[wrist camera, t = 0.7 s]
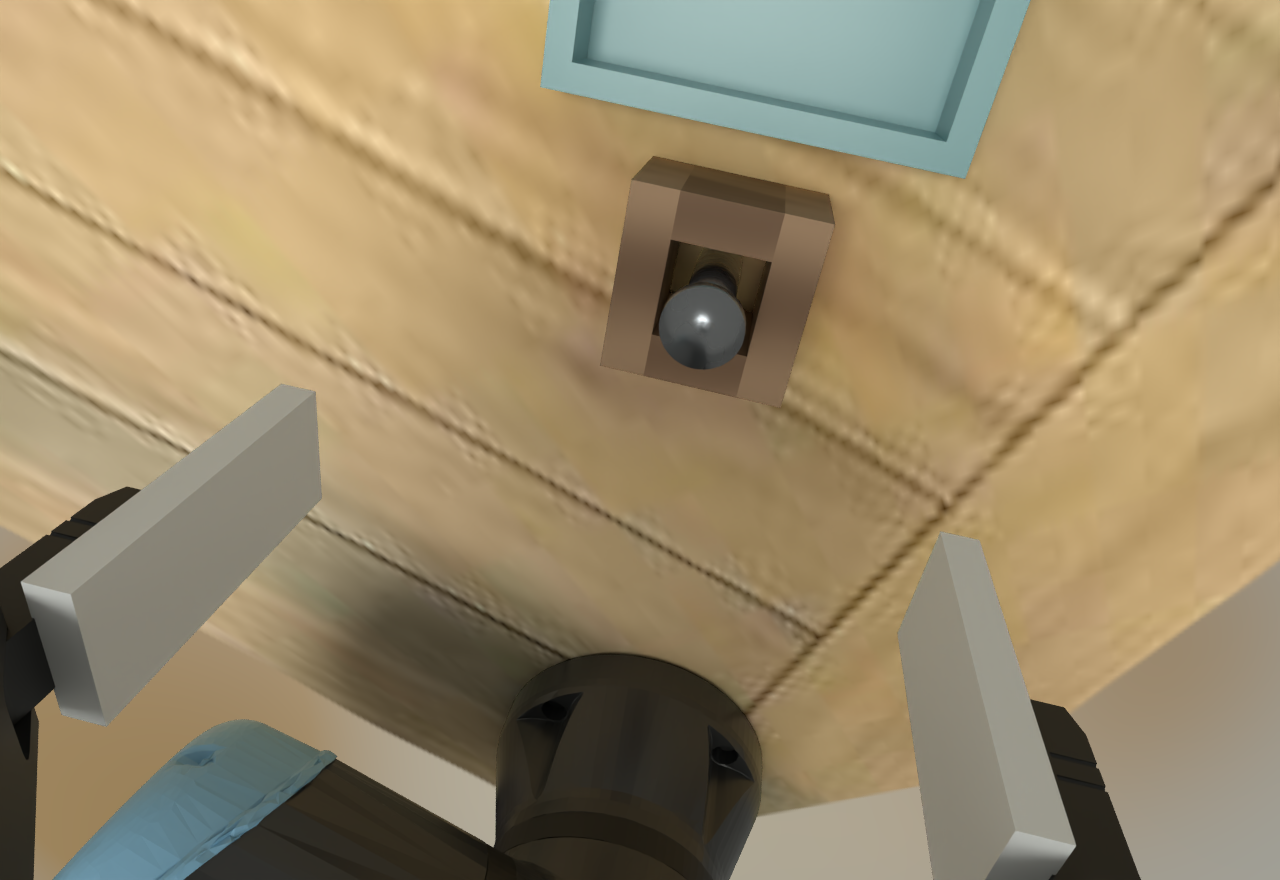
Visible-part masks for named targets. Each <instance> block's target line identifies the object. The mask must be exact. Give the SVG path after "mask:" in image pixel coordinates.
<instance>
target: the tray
mask: <svg viewBox="0 0 1280 880" xmlns="http://www.w3.org/2000/svg"><path fill="white" fill-rule="evenodd" d="M1029 3H1030V0H550V4H549V13H548V22H547V32H546V41H545V50H544V59H543V68H542V77H541V86H540V87H542V88H547V89H552V90H556V91H561V92H566V93H570V94H575V95H579V96H584V97H589V98H593V99H598V100H603V101H607V102H612V103H617V104H621V105H626V106H630V107H635V108H640V109H644V110H649V111H654V112H658V113H663V114H668V115H672V116H677V117H681V118H686V119H691V120H695V121H700V122H705V123H709V124H714V125H719V126H723V127H728V128H732V129H737V130H742V131H746V132H751V133H756V134H760V135H765V136H770V137H774V138H779V139H783V140H788V141H793V142H797V143H802V144H807V145H811V146H816V147H821V148H825V149H830V150H834V151H839V152H844V153H848V154H853V155H858V156H862V157H867V158H872V159H876V160H881V161H885V162H890V163H895V164H899V165H904V166H909V167H913V168H918V169H923V170H927V171H932V172H936V173H941V174H946V175H950V176H955V177H960V178H964V179H965V177H966V175H967V172H968V169H969V167H970V164H971V161H972V158H973V156H974V153H975V150H976V147H977V145H978V142H979V139H980V137H981V134H982V131H983V128H984V126H985V123H986V120H987V118H988V115H989V112H990V109H991V107H992V104H993V101H994V98H995V96H996V93H997V90H998V88H999V85H1000V82H1001V79H1002V77H1003V74H1004V71H1005V68H1006V66H1007V63H1008V60H1009V58H1010V55H1011V52H1012V49H1013V47H1014V44H1015V41H1016V38H1017V36H1018V33H1019V30H1020V28H1021V25H1022V22H1023V19H1024V17H1025V14H1026V11H1027V9H1028V6H1029Z"/></svg>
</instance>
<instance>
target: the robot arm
mask: <svg viewBox="0 0 1280 880" xmlns="http://www.w3.org/2000/svg"><path fill="white" fill-rule="evenodd" d="M321 499H322V493H321V476H320V459H319V442H318V425H317V408H316V392H315V391H311V390H307V389H302V388H298V387H293V386H289V385H284V384H280V385H279V386H278V387H276V388H275V389H274V390H272V391H271V392H270V393H269V394H267V395H266V396H265V397H263V398H262V399H261V400H259V401H258V402H257V403H255V404H254V405H253V406H251V407H250V408H249V409H247V410H246V411H245V412H244V413H242V414H241V415H240V416H238V417H237V418H236V419H234V420H233V421H232V422H230V423H229V424H228V425H226V426H225V427H224V428H222V429H221V430H220V431H219V432H217V433H216V434H215V435H213V436H212V437H211V438H209V439H208V440H207V441H205V442H204V443H203V444H201V445H200V446H199V447H197V448H196V449H195V450H193V451H192V452H191V453H190V454H188V455H187V456H186V457H184V458H183V459H182V460H180V461H179V462H178V463H176V464H175V465H174V466H172V467H171V468H170V469H168V470H167V471H166V472H165V473H163V474H162V475H161V476H159V477H158V478H157V479H155V480H154V481H153V482H151V483H150V484H149V485H147V486H146V487H145V488H143V489H142V490H139V489H135V488H131V487H125V488H122V489H120V490H117V491H115V492H112V493H110V494H108V495H105V496H103V497H100V498H98V499H95V500H94V501H92V502H91V503H90V504H88V505H87V506H86V507H84V508H83V509H81V510H80V511H79V512H77V513H76V514H74V515H73V516H72V517H71V520H70V521H67V520H66V521H65V522H63V523H62V524H61V525H59V526H58V527H56V528H55V529H54V530H52V531H51V534H50V535H45V536H44V537H43V538H41V539H40V540H39V541H37V542H36V543H34V544H33V545H32V546H30V547H29V548H27V549H26V550H25V551H23V552H22V553H21V554H19V555H18V556H16V557H15V558H14V559H12V560H11V561H9V562H8V563H7V564H5V565H4V566H3V567H1V568H0V880H33V878H34V846H35V817H36V816H35V815H36V787H37V786H36V785H37V756H38V727H39V721H38V718H37V715H36V711H35V709H34V707H35V706H36V705H37V704H38V703H39V702H40V701H41V700H42V699H43V698H45V697H46V696H47V695H48V694H49V693H50V692H51V691H52V690H53V689H54V692H55V695H56V698H57V701H58V705H59V708H60V711H61V714H62V715H64V716H68V717H71V718H75V719H79V720H83V721H87V722H90V723H94V724H98V725H102V726H108V725H109V723H110V722H111V721H112V720H113V719H114V718H115V717H116V716H117V715H118V714H119V713H120V712H121V711H122V710H123V709H124V707H125V706H126V705H127V704H128V703H129V702H130V701H131V700H132V699H133V698H134V697H135V696H136V695H137V694H138V693H139V692H140V691H141V690H142V688H143V687H144V686H145V685H146V684H147V683H148V682H149V681H150V680H151V679H152V678H153V677H154V676H155V675H156V673H158V671H159V670H160V669H161V668H162V667H163V666H164V665H165V664H166V663H167V662H168V661H169V660H170V659H171V658H172V657H173V656H174V654H175V653H176V652H177V651H178V650H179V649H180V648H181V647H182V646H183V645H184V644H185V643H186V642H187V641H188V640H189V639H190V638H191V636H192V635H193V634H194V633H195V632H196V631H197V630H198V629H199V628H200V627H201V626H202V625H203V624H204V623H205V622H206V621H207V620H208V618H209V617H210V616H211V615H212V614H213V613H214V612H215V611H216V610H217V609H218V608H219V607H220V606H221V605H222V604H223V603H224V601H225V600H226V599H227V598H228V597H229V596H230V595H231V594H232V593H233V592H234V591H235V590H236V589H237V588H238V587H239V586H240V585H241V583H242V582H243V581H244V580H245V579H246V578H247V577H248V576H249V575H250V574H251V573H252V572H253V571H254V570H255V569H256V568H257V566H258V565H259V564H260V563H261V562H262V561H263V560H264V559H265V558H266V557H267V556H268V555H269V554H270V553H271V552H272V551H273V550H274V548H275V547H276V546H277V545H278V544H279V543H280V542H281V541H282V540H283V539H284V538H285V537H286V536H287V535H288V534H289V533H290V531H291V530H292V529H293V528H294V527H295V526H296V525H297V524H298V523H299V522H300V521H301V520H302V519H303V518H304V517H305V516H306V515H307V513H308V512H309V511H310V510H311V509H312V508H313V507H314V506H315V505H316V504H317V503H318V502H319V501H320V500H321ZM898 640H899V647H900V654H901V661H902V668H903V674H904V681H905V688H906V695H907V702H908V709H909V716H910V723H911V730H912V737H913V743H914V750H915V757H916V764H917V771H918V778H919V785H920V792H921V799H922V806H923V813H924V819H925V826H926V833H927V840H928V847H929V854H930V861H931V867H932V875H933V880H1141V879H1140V877H1139V874H1138V871H1137V869H1136V866H1135V863H1134V861H1133V858H1132V856H1131V853H1130V850H1129V848H1128V845H1127V842H1126V840H1125V837H1124V834H1123V832H1122V829H1121V826H1120V824H1119V821H1118V819H1117V816H1116V813H1115V811H1114V808H1113V805H1112V802H1111V800H1110V797H1109V794H1108V793H1107V792H1105V784H1104V781H1103V779H1102V776H1101V773H1100V771H1099V769H1097V768H1096V764H1097V763H1096V760H1095V758H1094V755H1093V752H1092V749H1091V747H1090V744H1089V742H1088V739H1087V736H1086V734H1085V733H1084V732H1083V731H1082V729H1081V728H1080V727H1079V726H1078V724H1077V723H1076V722H1075V721H1074V719H1073V718H1072V717H1071V715H1070V714H1069V713H1068V712H1067V710H1066V709H1065V708H1064V707H1060V706H1056V705H1052V704H1047V703H1043V702H1039V701H1035V700H1031V699H1030V698H1029V695H1028V692H1027V689H1026V686H1025V682H1024V679H1023V676H1022V673H1021V670H1020V667H1019V664H1018V660H1017V657H1016V654H1015V651H1014V648H1013V645H1012V641H1011V638H1010V635H1009V632H1008V629H1007V626H1006V623H1005V619H1004V616H1003V613H1002V610H1001V607H1000V604H999V600H998V597H997V594H996V591H995V588H994V585H993V582H992V578H991V575H990V572H989V569H988V566H987V563H986V559H985V556H984V553H983V550H982V547H981V544H980V541H979V540H977V539H972V538H968V537H963V536H959V535H954V534H950V533H945V532H941V531H940V534H939V536H938V539H937V541H936V543H935V546H934V548H933V550H932V553H931V555H930V557H929V560H928V562H927V565H926V567H925V569H924V572H923V574H922V576H921V579H920V581H919V584H918V586H917V588H916V591H915V593H914V595H913V598H912V600H911V602H910V605H909V607H908V610H907V612H906V614H905V617H904V619H903V621H902V624H901V626H900V628H899V631H898ZM336 757H337V756H336V755H335V754H334V753H332V752H331V751H327V750H324V751H318V750H317V749H315V748H313V747H311V746H309V745H307V744H304V743H302V742H300V741H298V740H296V739H294V738H292V737H290V736H288V735H286V734H284V733H282V732H280V731H278V730H276V729H274V728H271V727H270V726H268V725H266V724H263V723H260V722H257V721H253V720H245V719H244V720H234V721H228V722H225V723H222V724H219V725H217V726H214V727H212V728H211V729H209V730H207V731H205V732H204V733H202V734H201V735H199V736H198V737H197V738H196V739H194V740H193V741H191V742H190V743H189V744H187V745H186V746H185V747H184V748H183V749H182V750H180V751H179V752H178V753H177V754H176V755H175V756H174V757H173V758H171V759H170V760H169V761H168V762H167V763H166V764H165V765H164V766H163V767H162V768H161V769H160V770H159V771H157V772H156V774H154V775H153V776H152V777H151V778H150V780H148V781H147V782H146V783H145V784H144V785H143V786H142V787H141V788H140V789H139V790H138V791H137V792H136V793H135V794H134V795H133V796H132V797H131V798H130V799H129V800H128V801H127V802H126V803H125V804H124V805H123V806H122V807H121V808H120V809H119V810H118V811H117V812H116V813H115V814H114V815H113V816H112V817H111V818H110V819H109V820H108V821H107V822H106V823H105V824H104V825H103V826H102V827H101V828H100V829H99V830H98V832H97V833H96V834H95V835H94V836H93V837H92V838H91V839H90V840H89V841H88V842H87V843H86V844H85V845H84V846H83V847H82V848H81V849H80V850H79V852H77V854H76V855H75V856H74V857H73V858H72V859H71V860H70V861H69V862H68V863H67V865H66V866H65V867H64V868H63V869H62V870H61V871H60V872H59V873H58V874H57V875H56V876H55V877H54V879H53V880H729V879H730V877H731V875H732V872H733V870H734V868H735V865H736V863H737V861H738V859H739V856H740V854H741V852H742V849H743V847H744V845H745V843H746V840H747V838H748V836H749V834H750V831H751V829H752V827H753V824H754V822H755V820H756V817H757V814H758V810H759V806H760V801H761V786H762V754H761V749H760V745H759V742H758V739H757V737H756V734H755V732H754V730H753V728H752V726H751V725H750V723H749V722H748V720H747V719H746V717H745V716H744V714H743V713H742V712H741V711H740V709H739V708H738V707H737V706H736V705H735V704H734V703H733V702H732V701H731V700H730V699H729V698H728V697H727V696H725V695H724V694H723V693H722V692H721V691H719V690H718V689H717V688H715V687H714V686H712V685H711V684H709V683H708V682H706V681H705V680H703V679H701V678H699V677H697V676H696V675H694V674H692V673H690V672H687V671H685V670H683V669H680V668H678V667H676V666H673V665H670V664H667V663H664V662H660V661H656V660H652V659H648V658H643V657H637V656H628V655H594V656H586V657H581V658H576V659H572V660H568V661H565V662H562V663H560V664H557V665H555V666H553V667H550V668H549V669H547V670H545V671H543V672H542V673H540V674H538V675H537V676H536V677H534V678H533V679H532V680H531V681H530V682H528V683H527V684H526V685H525V686H524V688H523V689H522V690H521V691H520V693H519V694H518V695H517V697H516V699H515V700H514V702H513V704H512V707H511V709H510V712H509V714H508V717H507V719H506V722H505V724H504V727H503V729H502V732H501V735H500V738H499V743H498V748H497V757H496V840H495V845H494V848H493V847H491V846H490V845H488V844H486V843H485V842H483V841H482V840H480V839H478V838H477V837H475V836H473V835H471V834H469V833H468V832H466V831H464V830H462V829H460V828H459V827H457V826H455V825H453V824H452V823H450V822H448V821H446V820H444V819H443V818H441V817H439V816H437V815H435V814H434V813H432V812H430V811H428V810H426V809H425V808H423V807H421V806H419V805H418V804H416V803H414V802H412V801H410V800H409V799H407V798H405V797H403V796H401V795H400V794H398V793H396V792H394V791H393V790H391V789H389V788H387V787H385V786H383V785H382V784H380V783H378V782H376V781H374V780H373V779H371V778H369V777H367V776H366V775H364V774H362V773H360V772H358V771H357V770H355V769H353V768H351V767H350V766H348V765H346V764H344V763H342V762H341V761H339V760H337V759H336Z"/></svg>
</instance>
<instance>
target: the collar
mask: <svg viewBox="0 0 1280 880" xmlns="http://www.w3.org/2000/svg"><path fill="white" fill-rule="evenodd" d="M834 226H835V222H834V217H833V212H832V207H831V203H830V198H829V194H824V193H819V192H815V191H810V190H806V189H801V188H797V187H792V186H787V185H783V184H778V183H774V182H769V181H765V180H760V179H755V178H751V177H746V176H742V175H737V174H733V173H728V172H724V171H719V170H714V169H710V168H705V167H701V166H696V165H692V164H687V163H682V162H678V161H673V160H669V159H664V158H660V157H655V156H653V157H652V158H651V159H650V160H649V161H648V162H647V163H646V165H645V166H644V167H643V168H642V169H641V170H640V171H639V172H638V173H637V174H636V175H635V177H634V178H633V179H632V180H631V186H630V192H629V198H628V204H627V210H626V216H625V222H624V228H623V234H622V239H621V245H620V251H619V257H618V263H617V269H616V275H615V281H614V287H613V293H612V298H611V304H610V310H609V316H608V322H607V328H606V334H605V340H604V346H603V352H602V357H601V363H600V366H604V367H608V368H613V369H617V370H621V371H626V372H630V373H634V374H638V375H643V376H647V377H651V378H655V379H660V380H664V381H668V382H672V383H677V384H681V385H685V386H689V387H694V388H698V389H702V390H707V391H711V392H715V393H719V394H724V395H728V396H732V397H736V398H741V399H745V400H749V401H753V402H758V403H762V404H766V405H771V406H775V407H779V408H781V404H782V401H783V397H784V394H785V391H786V387H787V384H788V381H789V377H790V374H791V371H792V367H793V364H794V361H795V357H796V354H797V350H798V347H799V344H800V340H801V337H802V334H803V330H804V327H805V324H806V320H807V317H808V314H809V310H810V307H811V304H812V300H813V297H814V293H815V290H816V287H817V283H818V280H819V277H820V273H821V270H822V267H823V263H824V260H825V257H826V253H827V250H828V246H829V243H830V240H831V236H832V233H833V230H834ZM680 242H684V243H688V244H693V245H697V246H702V247H706V248H711V249H715V250H720V251H724V252H728V253H733V254H737V255H742V256H746V257H751V258H755V259H760V260H764V261H766V263H765V266H764V270H763V274H762V278H761V282H760V286H759V289H758V293H757V297H756V301H755V305H754V308H753V312H750V311H745V310H744V313H745V317H746V330H745V336H744V341H743V344H742V346H741V348H740V350H739V351H738V353H737V354H736V355H735V356H734V357H733V358H732V359H731V360H730V361H729V362H727V363H725V364H724V365H722V366H720V367H716V368H713V369H706V370H700V369H693V368H689V367H686V366H684V365H682V364H680V363H679V362H677V361H676V360H674V359H673V358H672V357H671V356H670V355H669V354H668V352H667V351H666V350H665V348H664V346H663V344H662V342H661V339H660V334H659V321H660V317H661V314H662V311H663V309H664V307H665V304H666V303H667V301H668V299H669V298H670V297H671V296H672V295H673V294H671V293H669V292H670V287H671V282H672V277H673V272H674V268H675V263H676V258H677V253H678V248H679V243H680Z"/></svg>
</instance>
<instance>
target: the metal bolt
mask: <svg viewBox="0 0 1280 880" xmlns="http://www.w3.org/2000/svg"><path fill="white" fill-rule="evenodd" d="M741 268H742V255H737V254H733V253H728V252H724V251H720V250H715V249H711V248H706V247H704V248H703V249H702V251H701V252H700V255H699V258H698V260H697V263H696V266H695V268H694V271H693V274H692V277H691V279H690V282H689V285H686V286H684V287H682V288H680V289H679V290H677V291H676V292H675V293H674V294H673V295H672V296H671V297H670V298H669V299H668V301H667V303H666V304H665V307H664V309H663V311H662V314H661V317H660V321H659V334H660V339H661V342H662V344H663V346H664V348H665V350H666V351H667V352H668V354H669V355H670V356H671V357H672V358H673V359H674V360H676V361H677V362H679V363H680V364H682V365H684V366H686V367H689V368H693V369H700V370H706V369H713V368H716V367H720V366H722V365H724V364H725V363H727V362H729V361H730V360H731V359H732V358H733V357H734V356H735V355H736V354H737V353H738V351H739V350H740V348H741V346H742V344H743V341H744V336H745V330H746V317H745V313H744V310H743V307H742V305H741V303H740V302H739V300H738V299H737V298H736V295H737V289H738V284H739V279H740V273H741Z"/></svg>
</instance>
